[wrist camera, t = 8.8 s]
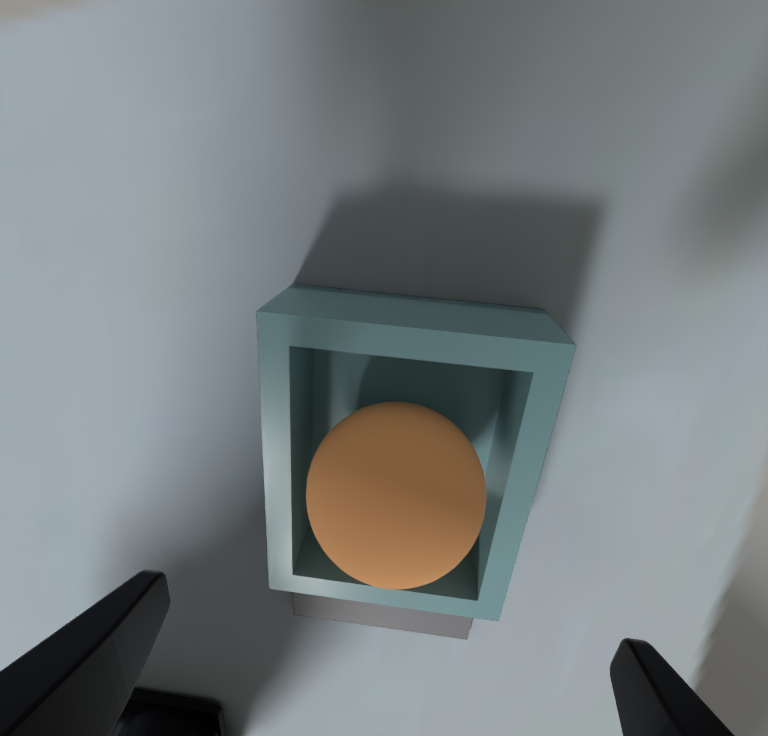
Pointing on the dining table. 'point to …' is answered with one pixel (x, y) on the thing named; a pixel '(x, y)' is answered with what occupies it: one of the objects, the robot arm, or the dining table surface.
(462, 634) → the gray ramp board
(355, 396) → the tray
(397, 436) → the ball
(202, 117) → the dining table surface
